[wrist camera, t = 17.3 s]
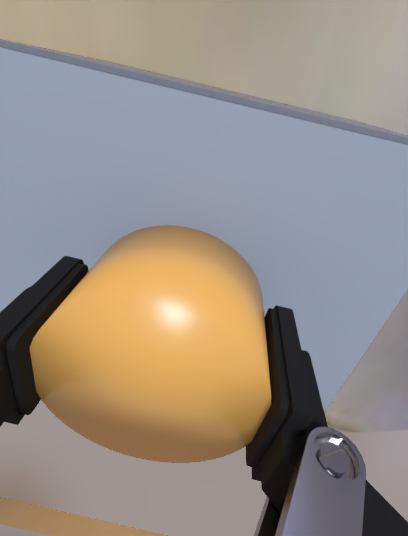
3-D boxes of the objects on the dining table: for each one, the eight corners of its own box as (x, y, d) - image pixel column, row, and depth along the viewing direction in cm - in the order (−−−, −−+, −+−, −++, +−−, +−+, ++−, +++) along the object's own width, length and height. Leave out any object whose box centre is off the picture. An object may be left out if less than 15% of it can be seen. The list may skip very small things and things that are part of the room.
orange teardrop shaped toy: (289, 251, 10) (313, 341, 6) (236, 377, 13) (233, 480, 10) (95, 204, 10) (12, 268, 6) (92, 342, 13) (38, 434, 9)
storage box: (360, 122, 18) (464, 151, 10) (282, 300, 25) (302, 406, 17) (103, 60, 18) (-24, 34, 9) (99, 257, 25) (26, 342, 17)
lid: (468, 159, 10) (491, 165, 9) (305, 417, 17) (309, 434, 16) (-31, 39, 9) (-58, 33, 9) (17, 350, 16) (5, 364, 16)
